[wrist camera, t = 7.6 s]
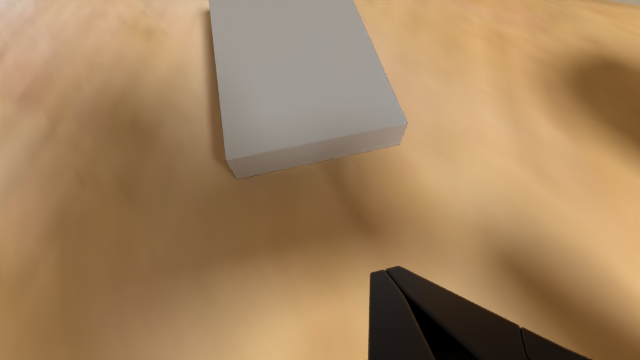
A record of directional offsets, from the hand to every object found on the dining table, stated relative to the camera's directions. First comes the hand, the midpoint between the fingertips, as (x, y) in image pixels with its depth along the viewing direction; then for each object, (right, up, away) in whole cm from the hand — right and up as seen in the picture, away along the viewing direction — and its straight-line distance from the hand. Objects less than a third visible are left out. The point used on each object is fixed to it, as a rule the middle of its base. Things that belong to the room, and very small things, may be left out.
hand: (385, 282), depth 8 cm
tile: (-2, +4, +9) cm, 10 cm away
